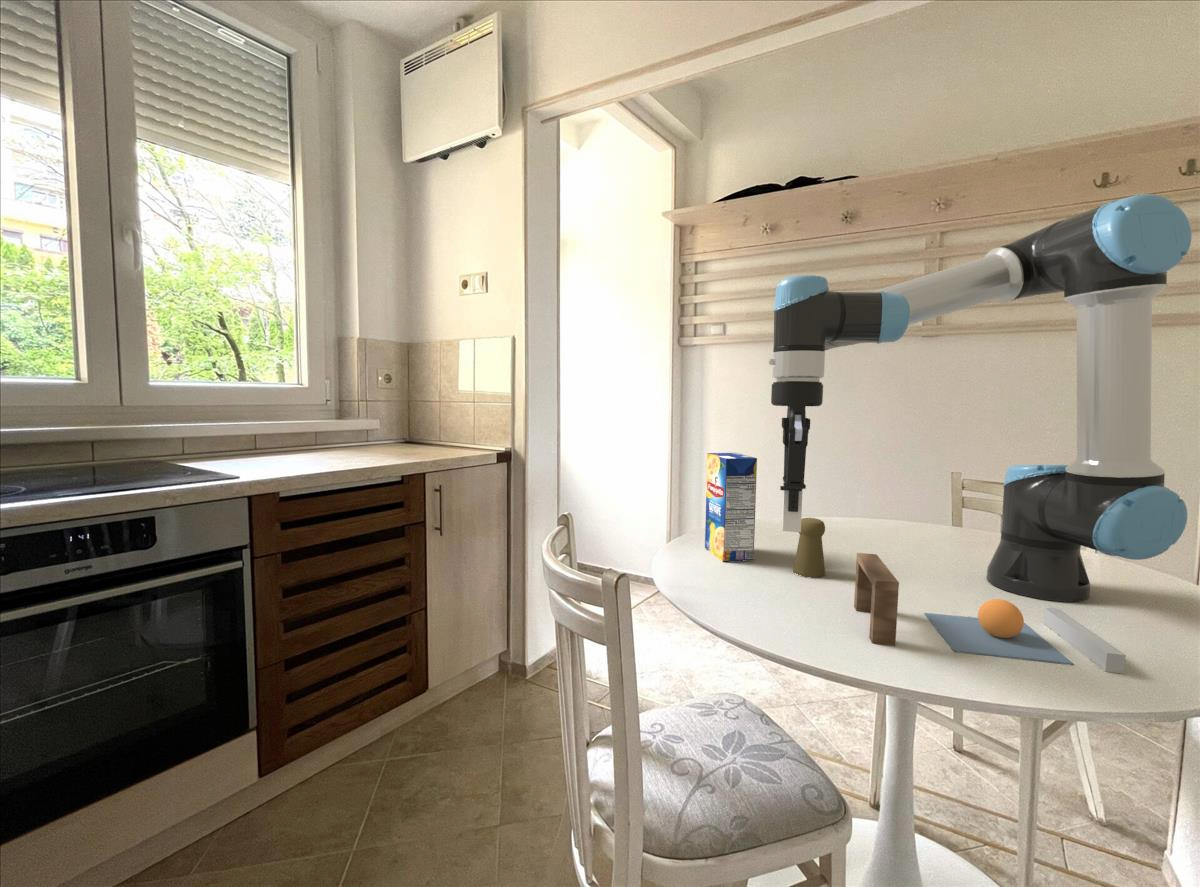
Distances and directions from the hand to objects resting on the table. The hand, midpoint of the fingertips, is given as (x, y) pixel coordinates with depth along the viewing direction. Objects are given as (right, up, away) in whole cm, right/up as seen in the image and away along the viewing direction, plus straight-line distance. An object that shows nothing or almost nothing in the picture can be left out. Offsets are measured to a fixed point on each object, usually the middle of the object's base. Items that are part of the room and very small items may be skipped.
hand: (791, 530), depth 89 cm
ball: (+29, -12, -6) cm, 32 cm away
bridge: (+12, -14, -2) cm, 19 cm away
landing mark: (+27, -15, -6) cm, 32 cm away
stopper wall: (+38, -15, -9) cm, 42 cm away
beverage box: (-2, -11, +36) cm, 37 cm away
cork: (+11, -12, +23) cm, 28 cm away
